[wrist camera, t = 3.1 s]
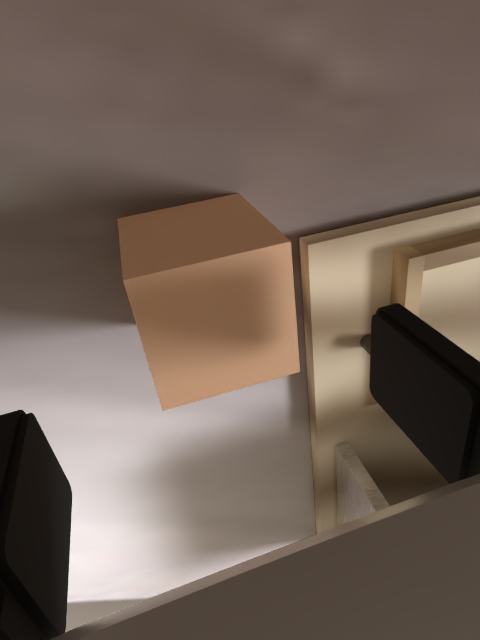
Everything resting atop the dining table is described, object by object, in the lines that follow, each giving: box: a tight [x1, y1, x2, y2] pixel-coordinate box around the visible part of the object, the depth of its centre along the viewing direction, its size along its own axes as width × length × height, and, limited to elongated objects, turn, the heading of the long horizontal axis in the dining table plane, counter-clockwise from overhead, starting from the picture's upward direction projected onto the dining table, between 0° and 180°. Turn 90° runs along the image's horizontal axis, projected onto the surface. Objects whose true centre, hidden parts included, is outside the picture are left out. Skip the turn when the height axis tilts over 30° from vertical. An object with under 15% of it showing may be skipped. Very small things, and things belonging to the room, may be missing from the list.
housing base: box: [299, 196, 480, 534], centre depth 26 cm, size 24×18×2 cm
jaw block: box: [117, 193, 300, 411], centre depth 16 cm, size 5×5×6 cm
